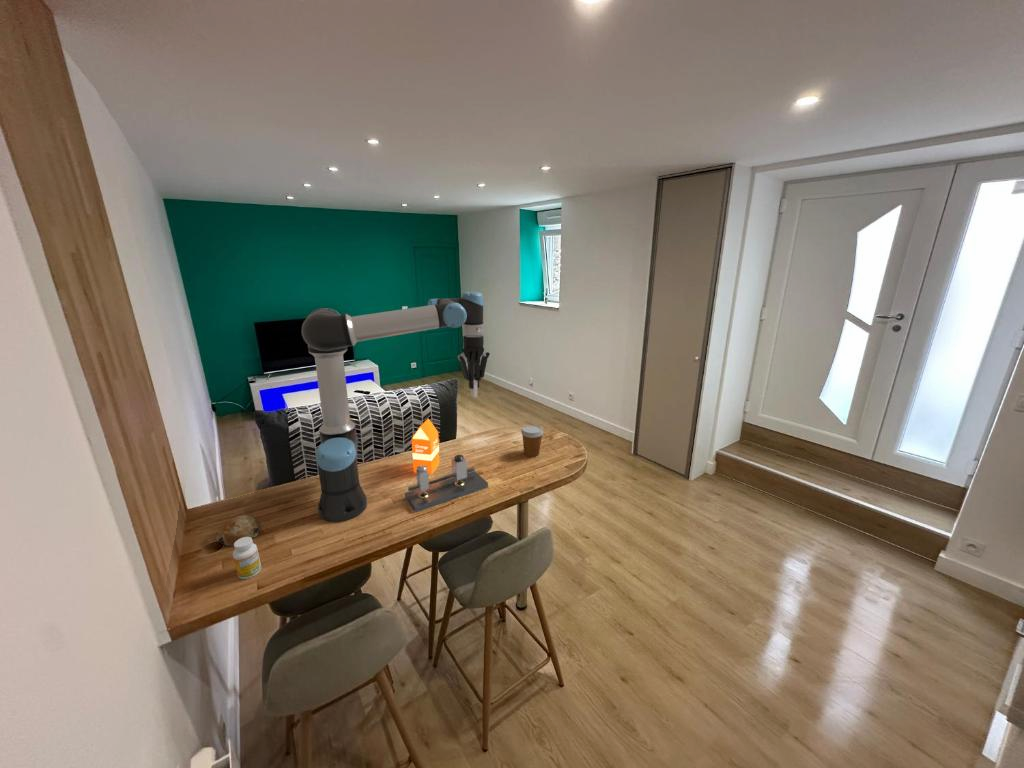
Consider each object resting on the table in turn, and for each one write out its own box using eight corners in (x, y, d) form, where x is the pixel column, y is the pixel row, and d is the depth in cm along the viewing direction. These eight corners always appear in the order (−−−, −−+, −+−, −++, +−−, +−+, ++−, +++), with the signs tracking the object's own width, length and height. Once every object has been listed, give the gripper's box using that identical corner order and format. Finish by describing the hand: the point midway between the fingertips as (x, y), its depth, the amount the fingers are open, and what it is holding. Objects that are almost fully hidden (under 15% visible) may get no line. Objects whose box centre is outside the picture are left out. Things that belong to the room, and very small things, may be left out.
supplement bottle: (239, 568, 107) (232, 538, 104) (262, 562, 110) (256, 532, 107) (236, 582, 103) (228, 551, 100) (260, 575, 105) (253, 545, 102)
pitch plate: (415, 512, 132) (413, 478, 128) (405, 498, 140) (402, 465, 136) (487, 487, 147) (487, 455, 143) (474, 475, 155) (474, 445, 151)
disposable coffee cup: (541, 460, 167) (542, 434, 163) (518, 458, 169) (519, 432, 165) (543, 450, 176) (544, 425, 172) (522, 448, 178) (523, 423, 174)
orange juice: (439, 463, 163) (437, 418, 157) (432, 474, 155) (429, 427, 149) (421, 461, 165) (419, 417, 159) (413, 472, 156) (410, 425, 150)
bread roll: (248, 555, 117) (257, 533, 116) (208, 549, 113) (217, 525, 112) (258, 534, 126) (266, 513, 125) (221, 527, 122) (230, 505, 121)
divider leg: (457, 485, 142) (456, 460, 139) (452, 480, 145) (451, 456, 142) (467, 481, 144) (466, 457, 141) (461, 476, 148) (461, 453, 145)
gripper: (462, 338, 139) (463, 402, 146) (493, 335, 146) (493, 395, 153) (452, 335, 145) (454, 396, 152) (483, 332, 152) (483, 390, 159)
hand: (474, 396), depth 152 cm, fingers closed
